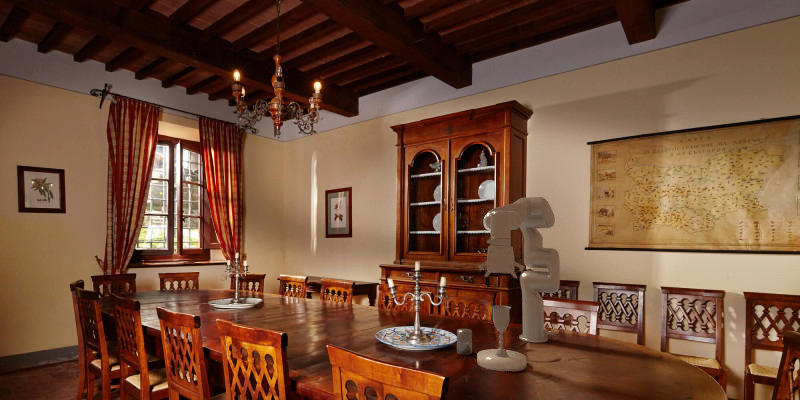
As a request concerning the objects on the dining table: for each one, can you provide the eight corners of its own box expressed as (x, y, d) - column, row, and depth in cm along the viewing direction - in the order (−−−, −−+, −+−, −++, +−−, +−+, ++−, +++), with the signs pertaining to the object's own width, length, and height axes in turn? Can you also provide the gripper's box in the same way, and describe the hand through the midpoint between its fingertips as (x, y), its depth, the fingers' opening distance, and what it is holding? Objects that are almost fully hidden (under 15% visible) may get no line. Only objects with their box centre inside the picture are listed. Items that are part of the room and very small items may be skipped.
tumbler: (468, 350, 178) (468, 328, 178) (474, 354, 172) (474, 331, 173) (454, 351, 176) (454, 329, 177) (460, 355, 170) (460, 332, 171)
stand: (511, 355, 170) (511, 348, 170) (536, 369, 153) (535, 361, 153) (469, 358, 166) (469, 350, 166) (490, 373, 149) (489, 364, 149)
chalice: (509, 353, 163) (509, 305, 164) (512, 358, 156) (512, 308, 158) (490, 352, 164) (490, 305, 165) (492, 357, 157) (492, 308, 158)
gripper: (476, 243, 163) (476, 288, 162) (523, 243, 156) (523, 290, 155) (480, 242, 170) (480, 285, 169) (524, 242, 163) (525, 287, 162)
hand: (501, 287), depth 162 cm, fingers open, 9 cm apart
